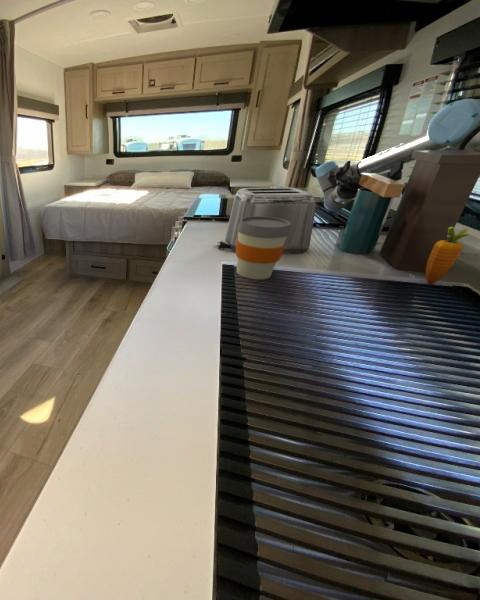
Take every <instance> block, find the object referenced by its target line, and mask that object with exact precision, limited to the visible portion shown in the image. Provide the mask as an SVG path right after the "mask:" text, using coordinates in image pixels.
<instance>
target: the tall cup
mask: <svg viewBox="0 0 480 600" xmlns="http://www.w3.org/2000/svg"><path fill="white" fill-rule="evenodd" d="M353 200H354V201H353V203H352V207H351V210H350V212H349V216H348V218H347V221H346V224H345V228H344V231H343V233H342V237H341V239H340V243H339V245H338V250H340V251H342V252H344V253H348V254H352V255H353V254H354V255H361V256H363V255H365V256H367V255H372V254H373V253H374V251H375V250H376V246H377V244H378V241H379V238H380V236H381V234H382V230H383V228H384V225H385V223H386V220H387V218H388V216H389V212H390V211H391V208H392V205H393V203H394V200H395V198H394V197H382V196H380V195H379V194H377V193H375V192H373V191H371V190H369V189H367V188H360V189H358V191H357V194H356V197H355V198H354V199H353Z"/></svg>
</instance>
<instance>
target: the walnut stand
mask: <svg viewBox="0 0 480 600" xmlns="http://www.w3.org/2000/svg"><path fill="white" fill-rule="evenodd" d="M411 158H412V159H417V160H415V161H414V166H413V168H412V170H411V173H410V174H409V178H408V180H407V182H406V185H405V188H404V189H403V193H402V194H401V198H400V200H399V202H398V206H397V207H396V211H395V213H394V216H393V217H392V221H391V223H390V224H389V225H390V226H389V228H388V231H387V233H386V236H385V238H384V241H383V243H382V246H381V248H380V251H379V255H380V256H381V257H382V258H383V259H384V260H385V261H386V262H388V263H389V265H390V266H392V268H394V269H395V270H400V271H411V272H420V273H421V272H422V273H426V266H427V262H428V259H429V256H430V254H431V251H432V249H433V247H434V245H435V244H436V243H437V242H438V241H441V240H447V239H448V238H447V236H448V229H449V227H454V228H455V227H456V225H457V224H458V221H459V219H460V218H461V216H462V213H463V211H464V209H465V207H466V204H467V203H468V201H469V199H470V196H471V194H472V193H473V190H474V189H475V187H476V184H477V182H478V180H479V178H480V152H474V151H466V150H456V149H445V150H420V151H414V152H413V154H412V157H411Z"/></svg>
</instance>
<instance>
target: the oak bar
mask: <svg viewBox="0 0 480 600" xmlns="http://www.w3.org/2000/svg"><path fill="white" fill-rule="evenodd" d="M359 185H361V186H363V187H365V188H367V189H369V190H371V191H373V192H375V193H377V194H379V195H380V196H382V197H394V199H399V198H400V197H401V196H402V192H403V191H404V187H405V186H406V185H405V183H402V182H399V181H394V180H392V179H389V178H386V177H384V176H381V175H379V174H376V173H362V176H361V179H360V182H359Z"/></svg>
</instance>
